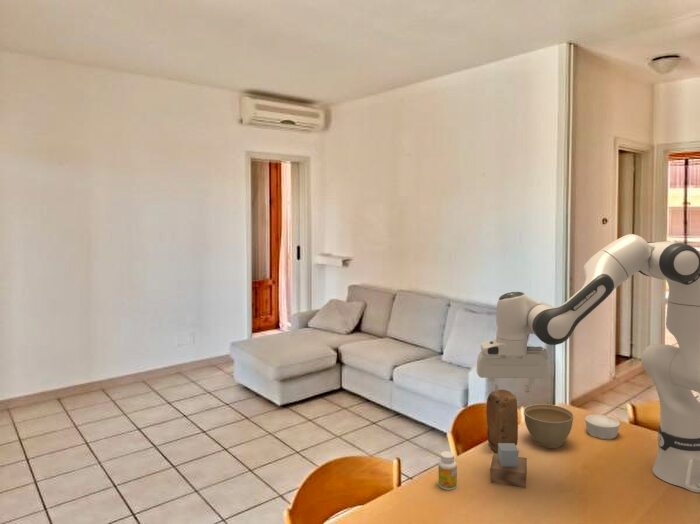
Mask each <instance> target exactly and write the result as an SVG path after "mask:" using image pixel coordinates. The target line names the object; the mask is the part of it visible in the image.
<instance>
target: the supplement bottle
mask: <svg viewBox="0 0 700 524" xmlns="http://www.w3.org/2000/svg"><path fill="white" fill-rule="evenodd" d="M456 461H457V460H455V453H454V452H452V451H450V450H449V451H446V450H444V451H442V452H441V453H440V459H439V460H438V464H437V465H438V468H437V469H438V486H439V487H440V488H441V489H442V490H447V491H449V490H450V491H451V490H455V489H456V488H457V486H458V478H457V477H458V470H457V469H458V464H457V462H456Z"/></svg>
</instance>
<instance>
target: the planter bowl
mask: <svg viewBox="0 0 700 524" xmlns="http://www.w3.org/2000/svg"><path fill="white" fill-rule="evenodd" d="M523 415H524V422H525V426H526V429H527V431H528V433H529V435H530V436H531V437H532V438H533V442H534V443H535V444H536V445H538V446H541V447H543V448H547V449H558V448H560V447H561V446H562V445H563V444H564V441H565V440H567V438H568V437H569V435H570V433H571V430H572V427H573V420H574V413H573V412H572V411H570V410H569V409H567V408H565V407H563V406H559V405H555V404H548V403H547V404H546V403H537V404H536V403H535V404H531V405H528V406H525V407H524V408H523Z"/></svg>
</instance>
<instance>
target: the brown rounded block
mask: <svg viewBox="0 0 700 524" xmlns="http://www.w3.org/2000/svg"><path fill="white" fill-rule="evenodd" d="M517 401H518V400H517V396H516V395H515V394H513V393H512V392H511V391H509V390H506V389H498V392H493V390H492V391H491V392H490V393H489V394H488V396H487V398H486V407H485V408H486V409H485V411H486V424H487V425H486V426H487V430H486V431H487V432H486V433H487V434H486V435H487V442H488V444H489V446H490V448H491V449H492V450H493V451H494V452H495V453H496V454H498V443H515V445H516V446H518V442H519V440H518V436H519V423H518V421H519V417H518V414H519V413H518V412H519V411H518V402H517Z"/></svg>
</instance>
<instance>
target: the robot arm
mask: <svg viewBox="0 0 700 524" xmlns="http://www.w3.org/2000/svg"><path fill="white" fill-rule="evenodd" d="M638 272H639V273H640V274H641V275H643V276H646V277H651V278H653V279H654V278H655V279H658V280H665V281H666V282H667V286H668V297H667V305H666V306H667V308H666V320H665V321H666V322H665V326H666V329H667V331H668V332H669V333H670V334H671V335H672V336H673V337H674V339H675V340H676V342H677V344H678V346H675V345H670V344H665V343H664V344H661V343H657V344H656V343H655V344H649V345H648V346H647V347H645V349H644V350H643V352H642V354H641V359H640V361H641V366H642V369H643V370H644V371H645V373H646V374H648V376H649V377H650V379H651V381H652V383H653V385H654V387H655V389H656V392H657V395H658V396H657V397H658V400H659V410H660V411H659V412H660V413H659V414H660V416H659V418H660V419H659V421H660V422H659V423H660V424H659V426H658V431H657V432H658V433H657V445H658V446H657V449H658V450H657V454H656V458H655V461H654V464H653V466H652V469H651V471H652V473H653V474H654V475H655V476H656V477H657V478H659V479H660V480H662V481H663V482H666V483H668V484H671V485H673V486H676V487H677V486H678V487H681V488H684V489H687V491H691V492H693V493H700V401H699V400H698V398H696V397H695V395H694V393H693V392H696V393H699V394H700V252H699V251H698V249H696V248H695V247H694V246H692V245H689V244H686V243H683V242H676V241H675V242H674V241H648V242H647V240H646V239H645V238H643V237H641V236H640V235H638V234H633V233H629V234H625V235H624V236H621V237H619V238H617V239H616V240H613V241H612V242H610V243H609V244H607V245H606V246H604V247H603V248H601V249H600V250H599V251H598V252H596V253H594V255H592V256H591V257H590V258H589V259H588V260H587V261H586V263H585V264H584V265H583V268H582V275H583V279H584V284H583V285H582V287H581V288H580V289H579V290H578V291H577V292H575V293H574V294H573V295H572V296H570V297H569V298H568V300H566V301H565V302H564V303H563V304H561V305H559V306H553V305H550V304H549V303H546V302H543V301H539V300H537V299H534V298H532V297H530V296H528V295H526V294H525V293H524V292H522V291H511V292H506V293H504V294H502V295H501V296H499V297H498V301H497V304H496V315H495V317H496V319H495V322H496V327H497V331H496V334H495V338H493V339H491V340H487V341H484V342H482V343H481V344H480V350H481V351H480V352H479V354H478V356H477V361H476V374H477V376H478V377H479V378H481V379H484V378H485V379H488V381H489V382H490V384H491V386H492V388H491V389H492V391H493V392H498V390H499V386H498V384H495V383H494V382H495V379H508V378H509V379H528V380H529V381H528V382H527V384H524V392H525V393H532V392H531V391H532V387H533V385H534V383H535V382H536V380H535V379H546V377H547V376H548V365H547V360H548V359H549V358H548V354H549V353H548V350H547V349H546V348H544V347H543V346H530V345H529V346H528V335H535V336H536V337H537V338H538V340H540V341H541V342H542V343H544V344H547V345H551V346H556V345H557V346H558V345H561V344H562V343H565V342H566V341H567V340H568V339H569V338H570V337H571V336H572V334H573V332H574V331H575V329H576V327H577V326H578V325H579V323H580V322H582V321H583V320H584V319H585V318H586V317H587V316H588V315H589V314H591V312H593V311H594V310H595V309H596V308H597V307H598V306H599V305H601V304H602V303H603V302H604V301H605V300H606V299H607V298H608V297H609V296H610V295H612V292H613V291H614V290H616V289H617V288H618V287H619V286H621V284H623V283H624V282H625V281H627V280H628V279H629V278H630V277H632V276H633V275H635V274H636V273H638Z"/></svg>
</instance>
